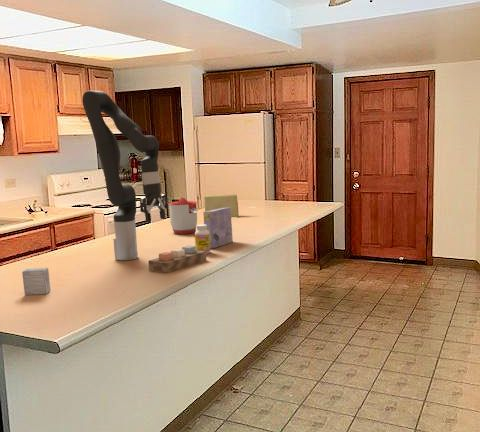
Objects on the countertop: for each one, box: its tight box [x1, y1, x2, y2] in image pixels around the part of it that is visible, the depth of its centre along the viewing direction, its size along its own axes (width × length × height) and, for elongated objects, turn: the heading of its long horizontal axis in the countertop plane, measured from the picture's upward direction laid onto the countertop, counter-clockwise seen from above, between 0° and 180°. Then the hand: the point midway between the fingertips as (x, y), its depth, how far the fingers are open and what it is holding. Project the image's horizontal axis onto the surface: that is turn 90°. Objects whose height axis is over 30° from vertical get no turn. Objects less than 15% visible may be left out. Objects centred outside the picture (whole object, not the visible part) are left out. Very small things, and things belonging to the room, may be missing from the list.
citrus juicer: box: [168, 196, 199, 235], centre depth 301 cm, size 16×17×20 cm
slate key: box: [181, 245, 196, 254], centre depth 230 cm, size 4×4×4 cm
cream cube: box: [170, 248, 185, 258], centre depth 224 cm, size 4×4×4 cm
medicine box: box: [21, 267, 51, 296], centre depth 192 cm, size 8×4×9 cm, turn 92°
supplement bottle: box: [194, 223, 211, 254], centre depth 246 cm, size 7×7×13 cm
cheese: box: [203, 193, 239, 218], centre depth 355 cm, size 22×10×15 cm, turn 67°
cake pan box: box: [202, 207, 234, 249], centre depth 262 cm, size 19×5×18 cm, turn 149°
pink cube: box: [158, 251, 173, 261], centre depth 219 cm, size 4×4×4 cm
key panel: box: [147, 250, 207, 274], centre depth 224 cm, size 24×10×4 cm, turn 143°
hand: (155, 220), depth 232 cm, fingers open, 8 cm apart
